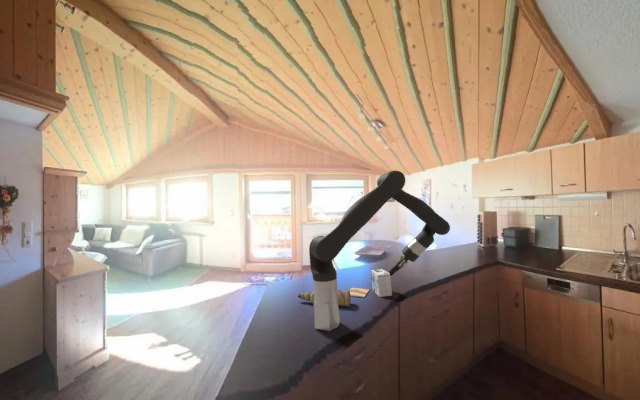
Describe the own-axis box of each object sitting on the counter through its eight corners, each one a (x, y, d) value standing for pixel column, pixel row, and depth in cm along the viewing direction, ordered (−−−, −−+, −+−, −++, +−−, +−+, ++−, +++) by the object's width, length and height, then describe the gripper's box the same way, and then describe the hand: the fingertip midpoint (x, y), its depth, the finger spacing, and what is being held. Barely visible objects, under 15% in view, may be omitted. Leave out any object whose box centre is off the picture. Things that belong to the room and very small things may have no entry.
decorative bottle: (352, 302, 110) (351, 288, 110) (348, 309, 103) (347, 293, 103) (301, 298, 119) (300, 285, 119) (295, 304, 112) (294, 290, 112)
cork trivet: (364, 297, 115) (364, 296, 115) (344, 295, 119) (344, 294, 119) (369, 290, 125) (369, 289, 126) (351, 288, 130) (351, 287, 130)
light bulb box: (372, 290, 125) (370, 269, 125) (384, 288, 126) (382, 268, 126) (379, 297, 114) (377, 274, 115) (392, 295, 115) (390, 273, 116)
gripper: (409, 242, 121) (386, 265, 126) (406, 246, 109) (381, 271, 114) (421, 253, 119) (397, 276, 123) (419, 258, 107) (393, 283, 111)
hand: (390, 274), depth 118 cm, fingers closed
